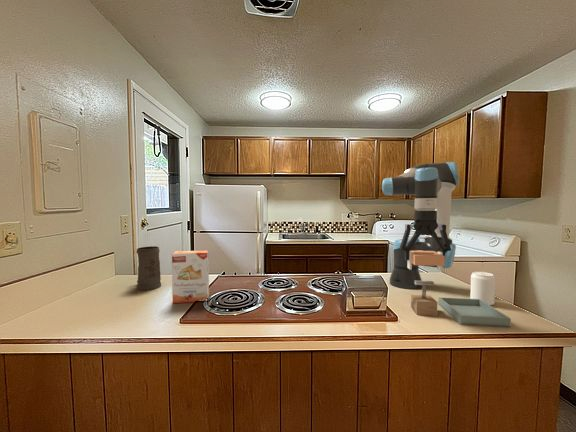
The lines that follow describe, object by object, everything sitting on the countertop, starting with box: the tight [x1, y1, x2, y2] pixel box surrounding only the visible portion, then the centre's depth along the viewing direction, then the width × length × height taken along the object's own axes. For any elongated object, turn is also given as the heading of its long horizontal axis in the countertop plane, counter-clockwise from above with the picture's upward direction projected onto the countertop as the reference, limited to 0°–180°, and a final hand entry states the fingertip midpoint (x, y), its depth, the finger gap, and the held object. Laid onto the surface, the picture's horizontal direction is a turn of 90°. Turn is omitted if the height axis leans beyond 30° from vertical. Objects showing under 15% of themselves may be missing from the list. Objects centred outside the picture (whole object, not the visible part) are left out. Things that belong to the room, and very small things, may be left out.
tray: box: [438, 297, 512, 328], centre depth 99 cm, size 18×15×3 cm
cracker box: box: [171, 250, 210, 304], centre depth 114 cm, size 14×6×21 cm, turn 100°
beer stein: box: [136, 245, 162, 291], centre depth 135 cm, size 15×11×20 cm
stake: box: [410, 280, 438, 317], centre depth 102 cm, size 7×7×12 cm
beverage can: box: [469, 271, 496, 306], centre depth 111 cm, size 8×8×12 cm
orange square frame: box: [411, 250, 445, 266], centre depth 102 cm, size 10×11×4 cm
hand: (424, 269), depth 102 cm, fingers closed on orange square frame, 10 cm apart
